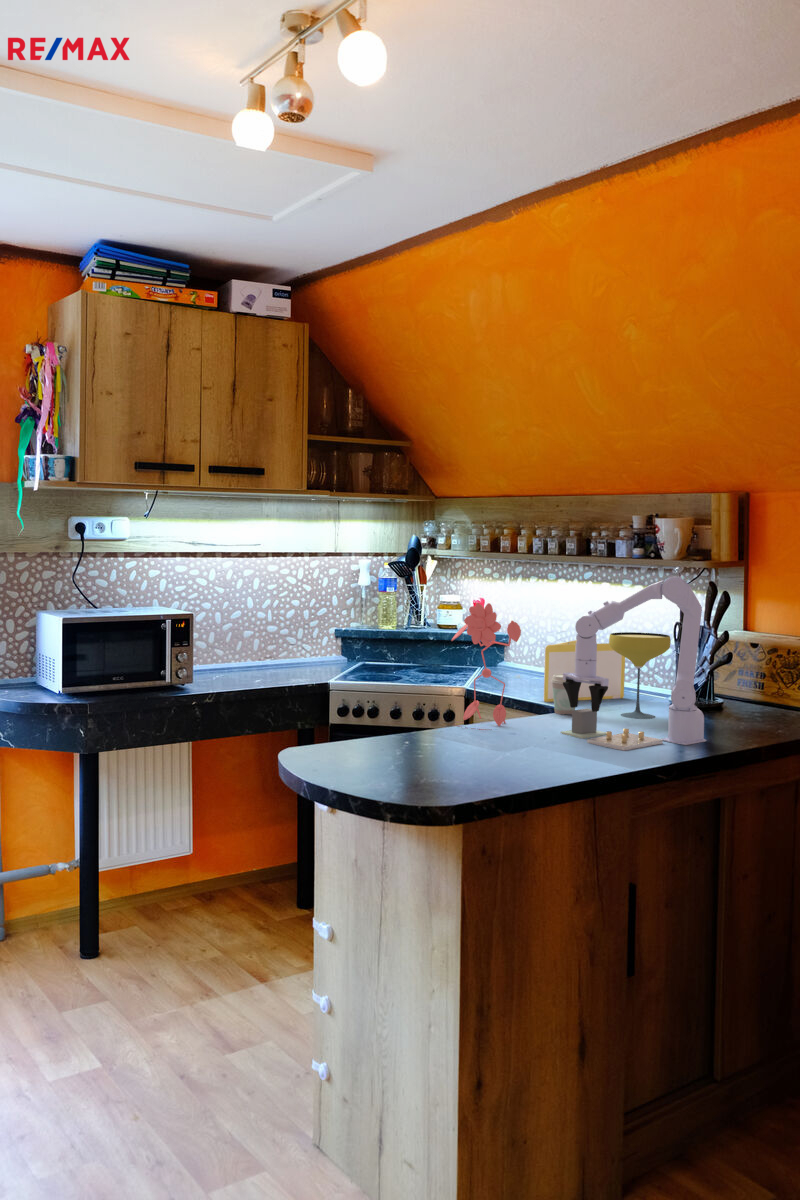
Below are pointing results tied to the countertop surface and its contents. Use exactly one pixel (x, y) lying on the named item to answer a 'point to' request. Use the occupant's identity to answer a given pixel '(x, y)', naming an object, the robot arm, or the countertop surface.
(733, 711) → the countertop surface
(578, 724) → the grey block on base
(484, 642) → the figurine
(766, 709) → the countertop surface
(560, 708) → the coffee cup
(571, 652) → the tabletop whiteboard
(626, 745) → the plate
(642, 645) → the cocktail glass
